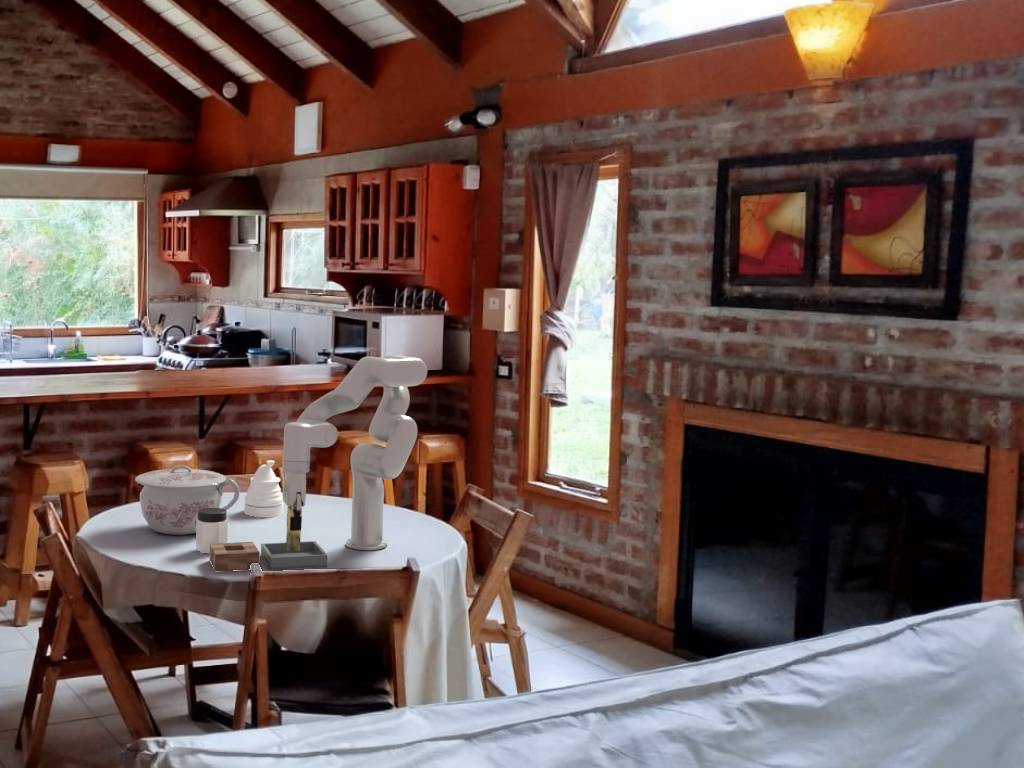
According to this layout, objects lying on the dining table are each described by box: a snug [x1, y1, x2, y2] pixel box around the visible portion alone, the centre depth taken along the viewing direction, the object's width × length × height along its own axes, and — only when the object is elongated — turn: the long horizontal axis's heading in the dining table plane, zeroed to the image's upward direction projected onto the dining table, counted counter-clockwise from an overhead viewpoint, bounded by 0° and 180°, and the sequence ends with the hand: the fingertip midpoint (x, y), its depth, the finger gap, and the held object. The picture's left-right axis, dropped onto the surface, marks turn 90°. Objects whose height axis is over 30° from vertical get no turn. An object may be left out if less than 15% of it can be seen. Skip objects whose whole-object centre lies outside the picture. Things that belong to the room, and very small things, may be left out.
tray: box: [260, 540, 329, 571], centre depth 333 cm, size 16×16×4 cm
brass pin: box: [285, 507, 302, 551], centre depth 332 cm, size 4×4×12 cm
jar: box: [195, 507, 229, 554], centre depth 339 cm, size 9×8×12 cm
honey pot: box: [243, 460, 284, 519], centre depth 389 cm, size 13×13×18 cm
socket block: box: [209, 541, 261, 572], centre depth 325 cm, size 12×12×5 cm
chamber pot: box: [134, 464, 241, 536], centre depth 360 cm, size 28×28×21 cm
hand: (293, 527), depth 332 cm, fingers closed on brass pin, 4 cm apart
